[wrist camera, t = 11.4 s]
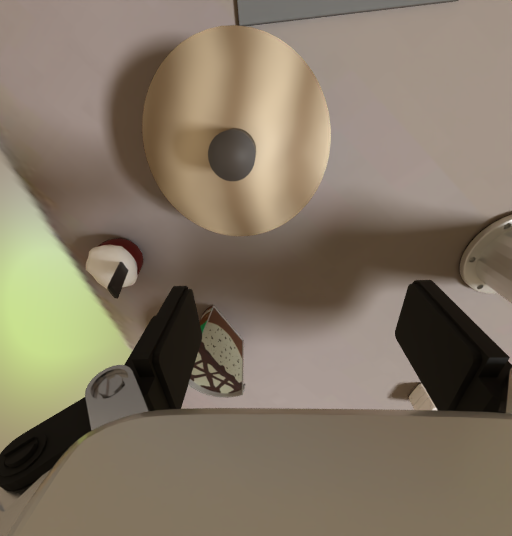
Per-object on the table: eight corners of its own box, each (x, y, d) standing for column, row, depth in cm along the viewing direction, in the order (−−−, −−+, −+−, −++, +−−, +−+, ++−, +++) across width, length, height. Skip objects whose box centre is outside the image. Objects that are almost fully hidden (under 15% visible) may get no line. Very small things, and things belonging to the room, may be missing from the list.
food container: (178, 312, 43) (157, 362, 34) (208, 298, 41) (193, 346, 32) (220, 356, 48) (211, 408, 39) (247, 345, 46) (244, 396, 38)
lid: (333, 16, 19) (357, -18, 14) (323, 225, 28) (336, 248, 23) (119, 44, 20) (75, 21, 16) (173, 237, 29) (155, 261, 24)
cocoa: (106, 267, 39) (47, 324, 29) (93, 230, 36) (20, 279, 25) (166, 271, 39) (128, 330, 28) (159, 233, 35) (112, 285, 25)
